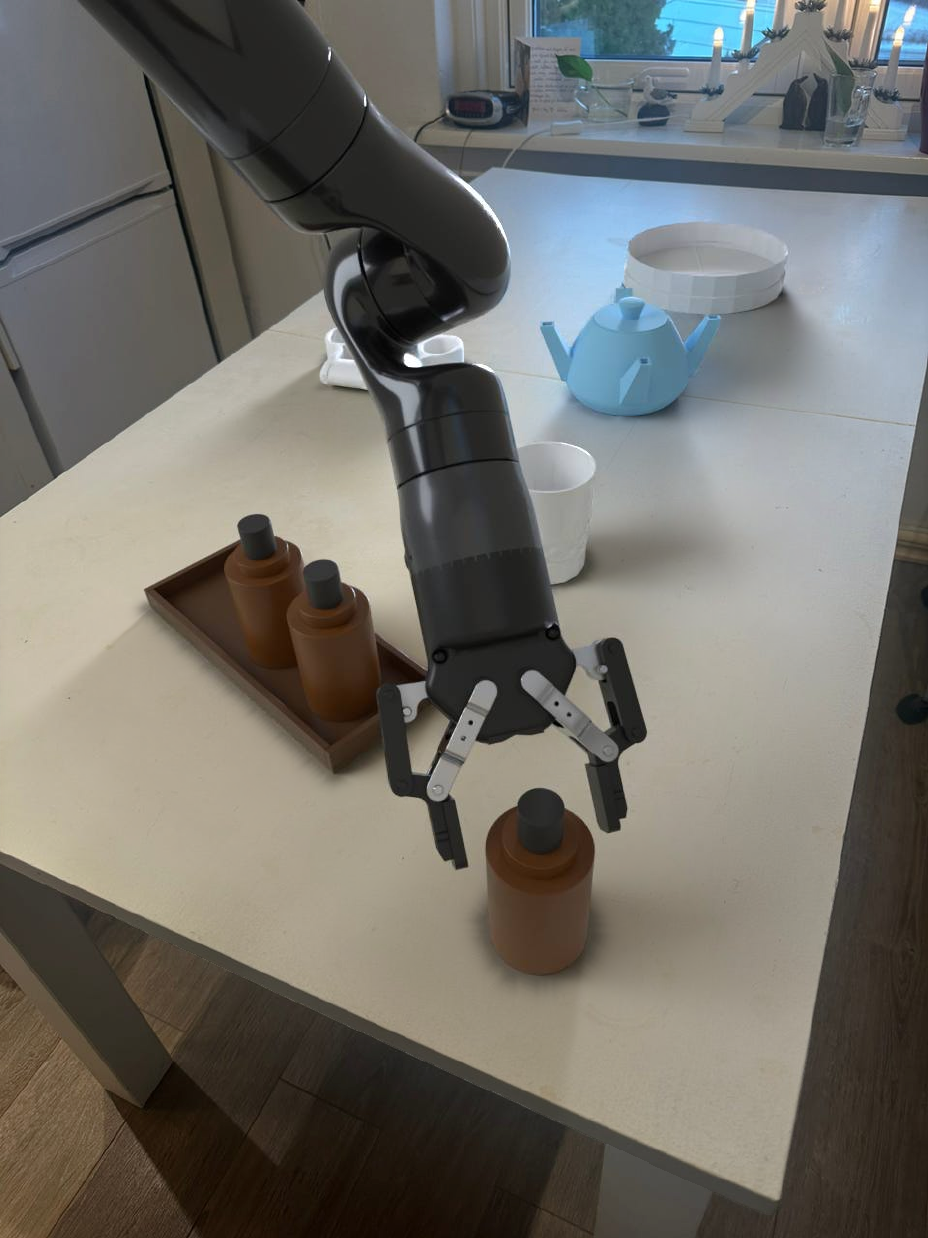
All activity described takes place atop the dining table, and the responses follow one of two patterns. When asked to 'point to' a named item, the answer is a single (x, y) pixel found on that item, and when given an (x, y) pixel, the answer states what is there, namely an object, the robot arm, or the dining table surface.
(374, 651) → the bottle near
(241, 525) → the bottle mid
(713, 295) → the dish
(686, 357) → the teapot
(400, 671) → the tray
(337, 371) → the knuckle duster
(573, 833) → the bottle
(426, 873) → the dining table surface
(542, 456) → the white cup
